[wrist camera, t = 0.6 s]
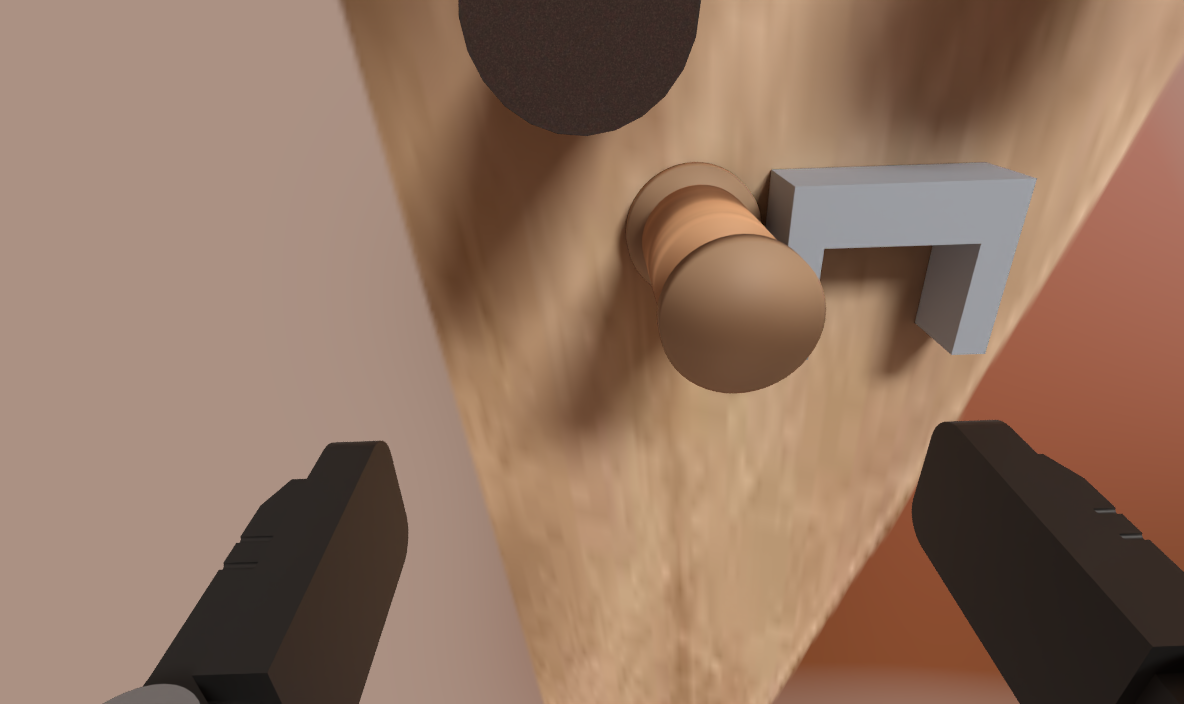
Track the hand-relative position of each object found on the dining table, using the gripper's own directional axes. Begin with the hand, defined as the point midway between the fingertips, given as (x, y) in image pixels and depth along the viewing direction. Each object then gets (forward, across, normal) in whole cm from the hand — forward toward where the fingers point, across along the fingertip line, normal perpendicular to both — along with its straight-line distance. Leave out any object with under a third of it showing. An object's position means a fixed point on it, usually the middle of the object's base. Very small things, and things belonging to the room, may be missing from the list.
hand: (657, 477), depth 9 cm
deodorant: (+25, +1, -6) cm, 26 cm away
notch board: (+25, -14, +6) cm, 29 cm away
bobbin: (+25, -4, +4) cm, 26 cm away
